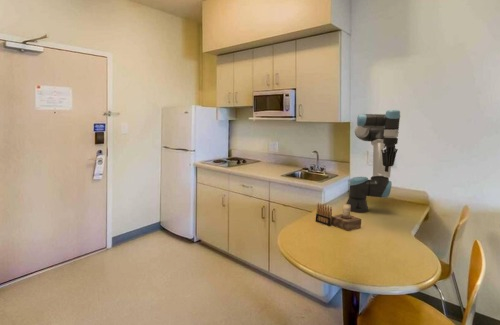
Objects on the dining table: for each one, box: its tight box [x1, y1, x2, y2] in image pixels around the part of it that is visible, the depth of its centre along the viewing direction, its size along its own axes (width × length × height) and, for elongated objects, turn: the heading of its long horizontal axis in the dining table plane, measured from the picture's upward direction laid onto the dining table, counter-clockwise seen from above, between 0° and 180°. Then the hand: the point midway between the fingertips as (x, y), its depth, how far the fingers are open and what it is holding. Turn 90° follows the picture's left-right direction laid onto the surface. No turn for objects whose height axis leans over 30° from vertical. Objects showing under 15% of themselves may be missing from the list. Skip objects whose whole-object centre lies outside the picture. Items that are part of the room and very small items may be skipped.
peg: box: [342, 203, 351, 220], centre depth 168 cm, size 4×4×12 cm
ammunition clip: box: [315, 202, 333, 227], centre depth 171 cm, size 11×2×12 cm, turn 41°
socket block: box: [332, 213, 362, 232], centre depth 169 cm, size 12×12×5 cm
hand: (387, 177), depth 169 cm, fingers closed
